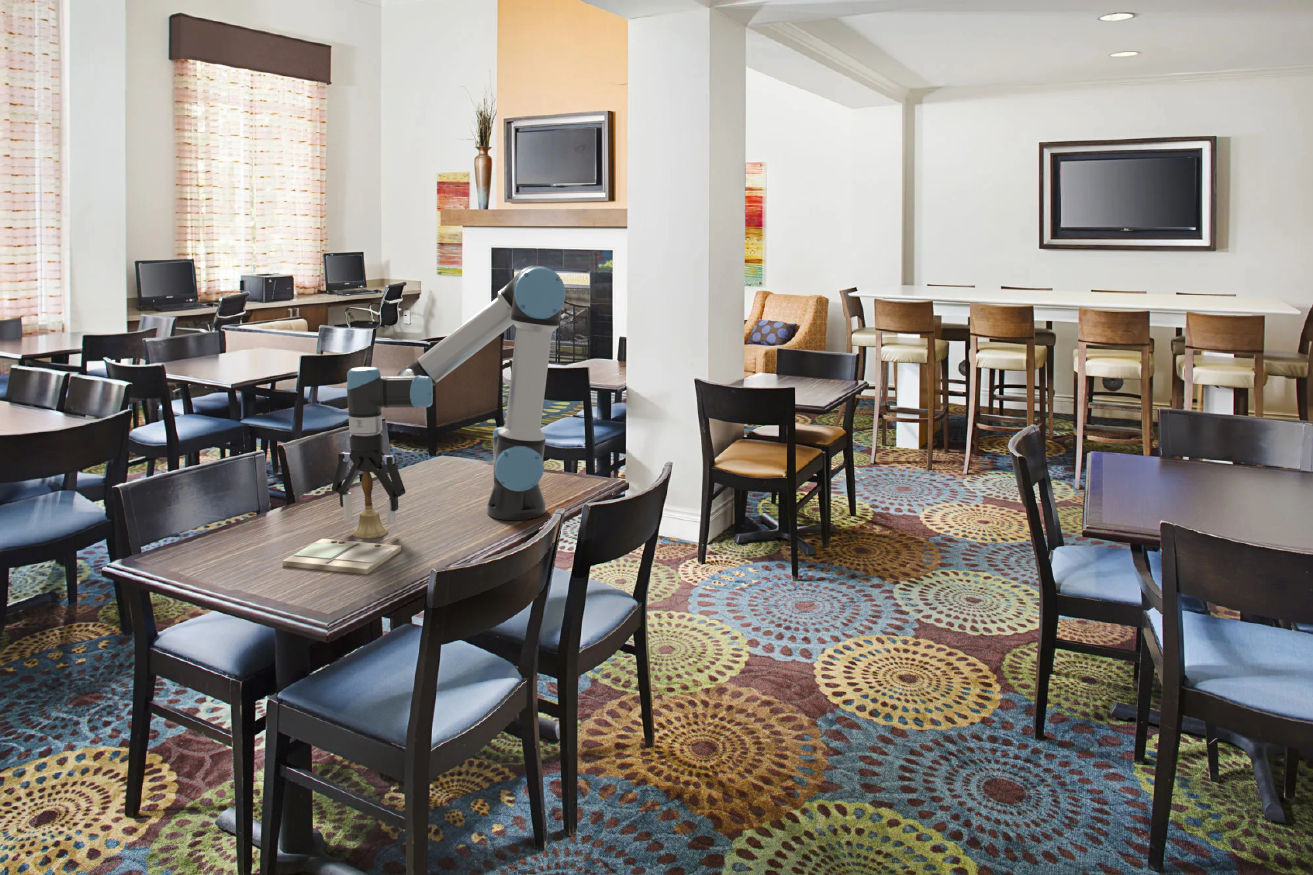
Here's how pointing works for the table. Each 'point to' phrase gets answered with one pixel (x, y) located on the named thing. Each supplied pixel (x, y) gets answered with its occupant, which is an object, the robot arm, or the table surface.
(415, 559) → the table surface
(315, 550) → the slot board
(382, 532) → the hand bell
